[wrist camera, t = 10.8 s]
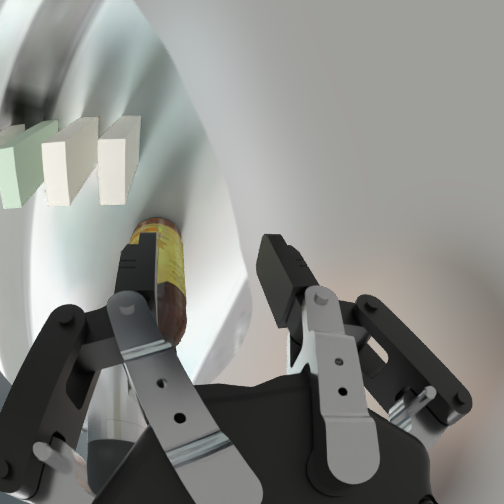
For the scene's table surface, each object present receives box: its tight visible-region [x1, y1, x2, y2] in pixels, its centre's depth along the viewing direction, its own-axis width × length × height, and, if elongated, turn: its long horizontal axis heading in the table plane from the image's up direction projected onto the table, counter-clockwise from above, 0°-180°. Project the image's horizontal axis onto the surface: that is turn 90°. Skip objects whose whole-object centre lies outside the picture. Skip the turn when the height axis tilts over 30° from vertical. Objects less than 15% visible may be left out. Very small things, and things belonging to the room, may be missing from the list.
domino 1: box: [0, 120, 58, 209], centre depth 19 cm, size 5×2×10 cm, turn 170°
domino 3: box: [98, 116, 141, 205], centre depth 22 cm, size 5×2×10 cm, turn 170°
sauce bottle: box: [127, 218, 187, 402], centre depth 26 cm, size 7×6×20 cm
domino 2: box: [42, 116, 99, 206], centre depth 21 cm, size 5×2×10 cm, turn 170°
